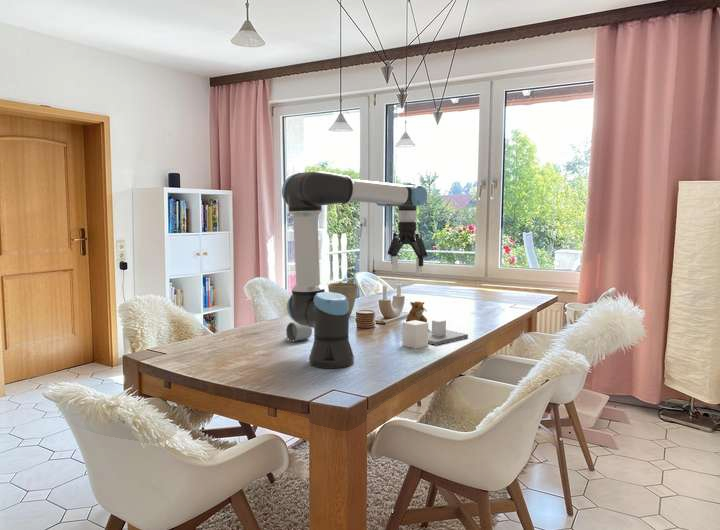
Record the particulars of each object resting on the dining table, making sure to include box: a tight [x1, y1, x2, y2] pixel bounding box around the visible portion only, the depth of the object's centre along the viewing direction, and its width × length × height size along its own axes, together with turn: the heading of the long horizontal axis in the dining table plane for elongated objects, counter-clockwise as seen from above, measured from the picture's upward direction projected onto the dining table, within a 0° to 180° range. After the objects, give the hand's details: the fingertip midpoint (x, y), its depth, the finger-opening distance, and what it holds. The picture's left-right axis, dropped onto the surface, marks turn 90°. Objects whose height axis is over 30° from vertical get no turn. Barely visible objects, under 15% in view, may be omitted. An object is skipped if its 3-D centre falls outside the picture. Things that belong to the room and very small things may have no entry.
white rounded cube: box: [401, 320, 429, 350], centre depth 201 cm, size 7×7×9 cm
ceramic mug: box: [286, 321, 313, 343], centre depth 211 cm, size 11×8×8 cm
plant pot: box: [327, 282, 358, 317], centre depth 261 cm, size 15×15×16 cm
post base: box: [428, 318, 469, 346], centre depth 213 cm, size 20×14×8 cm
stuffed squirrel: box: [405, 301, 431, 332], centre depth 228 cm, size 10×14×13 cm
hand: (406, 273), depth 215 cm, fingers open, 13 cm apart
